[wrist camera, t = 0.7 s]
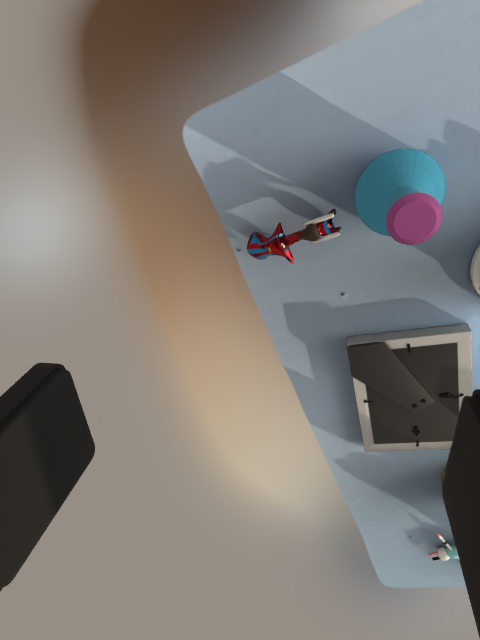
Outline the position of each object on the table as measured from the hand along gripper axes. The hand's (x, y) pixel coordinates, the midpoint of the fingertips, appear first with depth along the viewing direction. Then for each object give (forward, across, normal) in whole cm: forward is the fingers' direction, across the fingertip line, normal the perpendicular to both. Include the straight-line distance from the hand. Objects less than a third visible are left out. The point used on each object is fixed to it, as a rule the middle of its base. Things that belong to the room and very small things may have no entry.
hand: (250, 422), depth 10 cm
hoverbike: (+45, +3, +9) cm, 46 cm away
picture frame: (+45, -14, +34) cm, 58 cm away
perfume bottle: (+45, -9, +4) cm, 46 cm away
